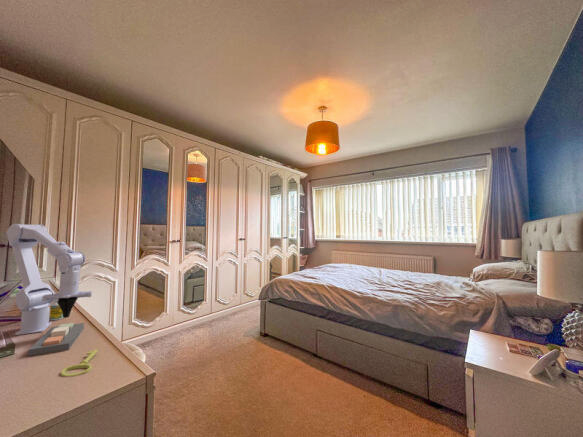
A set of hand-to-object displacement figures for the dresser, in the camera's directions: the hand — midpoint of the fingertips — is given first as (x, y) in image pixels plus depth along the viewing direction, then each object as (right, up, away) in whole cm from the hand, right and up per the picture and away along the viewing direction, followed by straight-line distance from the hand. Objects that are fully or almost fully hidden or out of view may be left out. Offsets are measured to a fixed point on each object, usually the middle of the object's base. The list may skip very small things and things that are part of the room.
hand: (66, 316), depth 94 cm
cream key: (+3, -5, -6) cm, 8 cm away
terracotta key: (+6, -5, -12) cm, 14 cm away
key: (+25, -7, -21) cm, 34 cm away
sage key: (0, -6, 0) cm, 6 cm away
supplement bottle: (-18, -7, +14) cm, 24 cm away
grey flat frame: (+3, -6, -6) cm, 9 cm away
